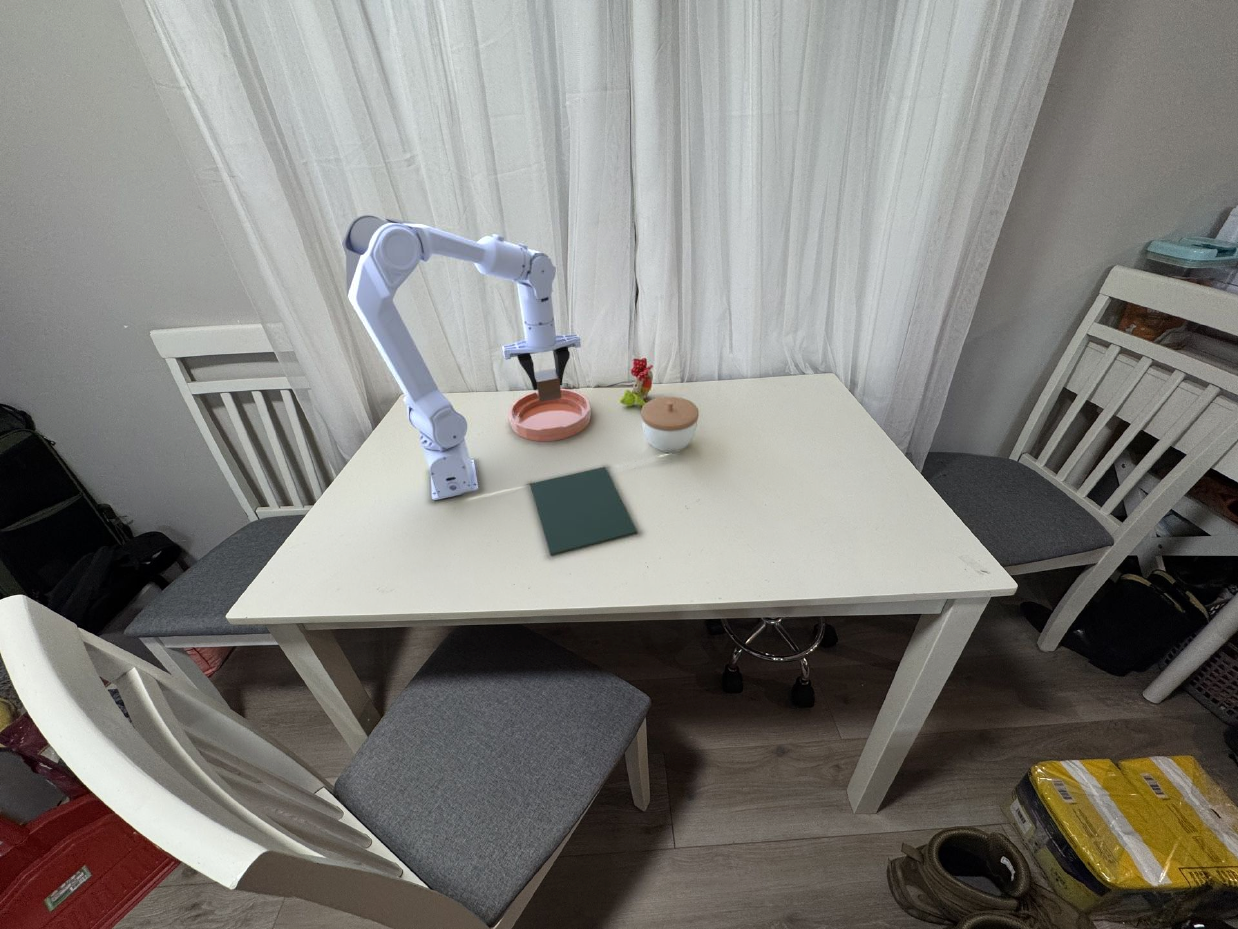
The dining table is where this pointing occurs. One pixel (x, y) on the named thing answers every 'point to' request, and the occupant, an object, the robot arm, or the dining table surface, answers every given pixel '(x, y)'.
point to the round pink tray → (550, 416)
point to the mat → (581, 510)
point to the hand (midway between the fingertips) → (547, 385)
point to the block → (547, 385)
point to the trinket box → (669, 423)
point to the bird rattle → (639, 383)
